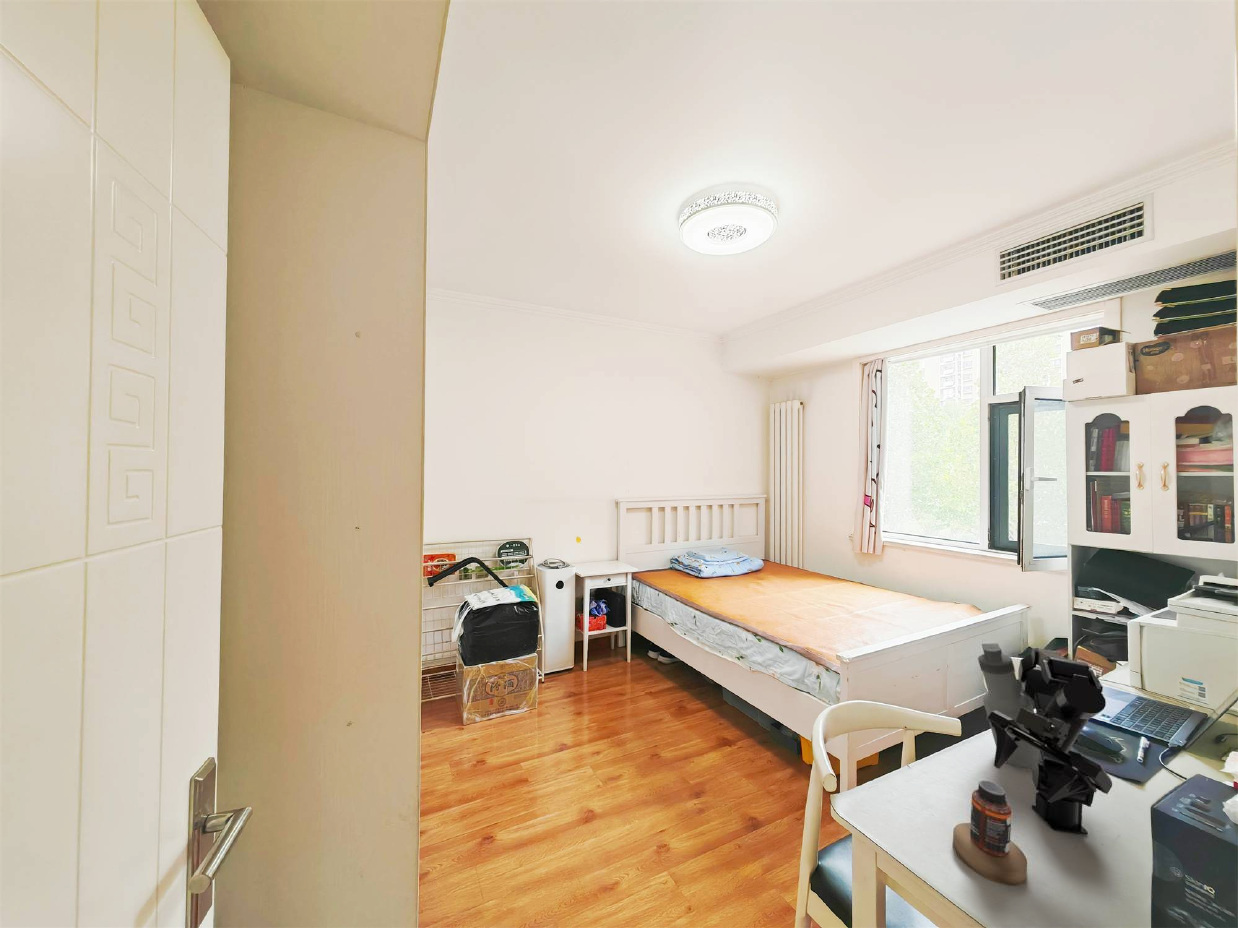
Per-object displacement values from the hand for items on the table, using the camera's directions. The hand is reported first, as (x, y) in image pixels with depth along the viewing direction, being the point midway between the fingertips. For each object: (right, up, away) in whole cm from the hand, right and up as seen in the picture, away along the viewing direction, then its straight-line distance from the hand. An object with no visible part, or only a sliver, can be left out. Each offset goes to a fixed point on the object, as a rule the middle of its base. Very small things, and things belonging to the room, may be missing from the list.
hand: (1020, 782), depth 90 cm
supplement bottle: (-8, -11, -2) cm, 13 cm away
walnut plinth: (-8, -13, -2) cm, 15 cm away
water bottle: (+24, -12, +27) cm, 38 cm away
